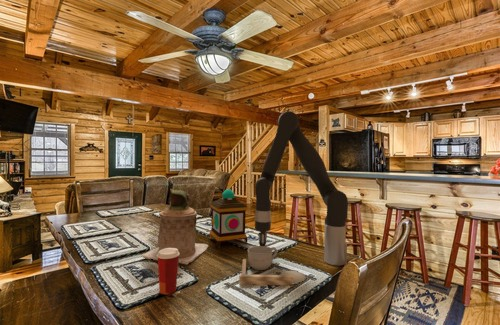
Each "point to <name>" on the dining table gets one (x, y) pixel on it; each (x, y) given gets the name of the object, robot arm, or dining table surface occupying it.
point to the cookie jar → (178, 229)
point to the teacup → (260, 257)
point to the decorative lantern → (228, 219)
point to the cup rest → (264, 278)
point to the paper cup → (168, 270)
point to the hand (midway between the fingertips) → (262, 256)
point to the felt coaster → (295, 276)
